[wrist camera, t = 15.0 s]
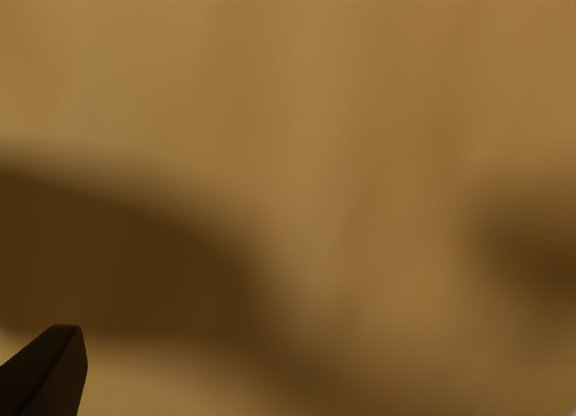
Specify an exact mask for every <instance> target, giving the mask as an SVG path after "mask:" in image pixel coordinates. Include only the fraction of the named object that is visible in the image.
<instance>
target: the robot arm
mask: <svg viewBox="0 0 576 416" xmlns="http://www.w3.org/2000/svg"><path fill="white" fill-rule="evenodd" d="M87 369H88V361H87V355H86V350H85V344H84V339H83V333H82V330H81V328H80V327H79V326H78V325H66V324H56V325H53V326H51V327H49V328H48V329H47V330H45V331H44V332H43V333H42V334H40V335H39V336H38V337H37V338H35V339H34V340H33V341H32V342H30V343H29V344H28V345H27V346H25V347H24V348H23V349H22V350H20V351H19V352H18V353H17V354H15V355H14V356H13V357H12V358H10V359H9V360H8V361H7V362H5V363H4V364H3V365H2V366H0V416H77V412H78V408H79V404H80V400H81V396H82V392H83V388H84V384H85V380H86V376H87Z"/></svg>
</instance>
